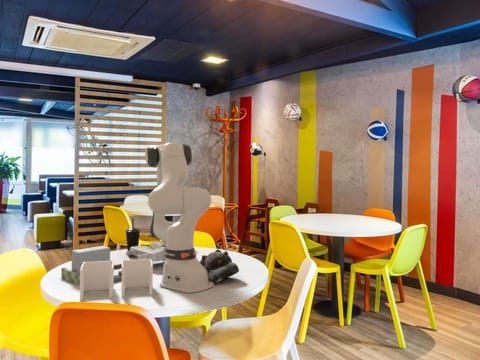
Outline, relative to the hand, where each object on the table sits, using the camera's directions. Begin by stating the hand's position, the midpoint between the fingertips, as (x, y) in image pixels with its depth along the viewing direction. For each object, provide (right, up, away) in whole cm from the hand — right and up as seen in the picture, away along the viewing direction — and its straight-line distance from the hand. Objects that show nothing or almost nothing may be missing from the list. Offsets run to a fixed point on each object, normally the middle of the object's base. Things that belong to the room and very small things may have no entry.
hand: (132, 255), depth 180 cm
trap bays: (-9, -6, -10) cm, 15 cm away
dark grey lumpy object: (+41, -7, -16) cm, 45 cm away
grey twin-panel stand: (+4, -8, -34) cm, 35 cm away
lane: (-11, -6, -12) cm, 17 cm away
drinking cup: (-7, -5, +25) cm, 27 cm away
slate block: (-13, -6, -14) cm, 21 cm away
